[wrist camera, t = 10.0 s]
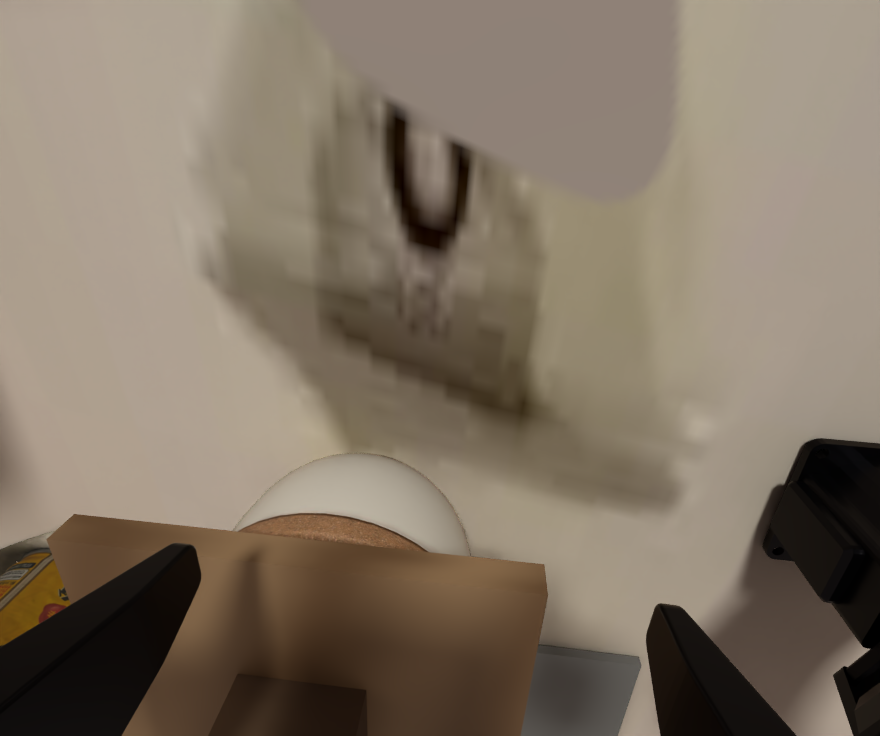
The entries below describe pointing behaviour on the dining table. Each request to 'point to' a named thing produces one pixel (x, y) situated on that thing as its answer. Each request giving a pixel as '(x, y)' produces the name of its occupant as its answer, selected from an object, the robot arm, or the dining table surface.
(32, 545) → the condiment
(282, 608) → the lid
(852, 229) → the dining table surface
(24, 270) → the dining table surface
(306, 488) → the lidded jar
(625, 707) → the mat
